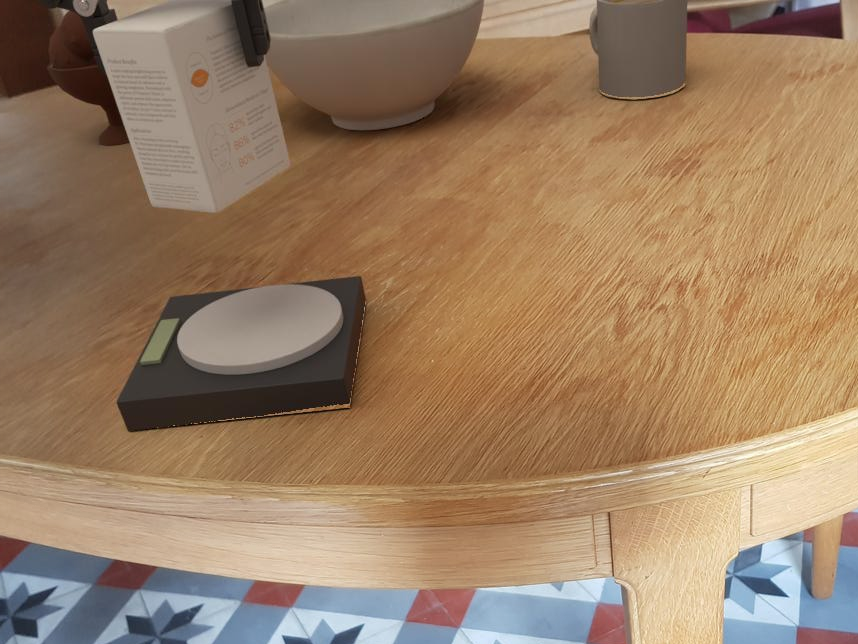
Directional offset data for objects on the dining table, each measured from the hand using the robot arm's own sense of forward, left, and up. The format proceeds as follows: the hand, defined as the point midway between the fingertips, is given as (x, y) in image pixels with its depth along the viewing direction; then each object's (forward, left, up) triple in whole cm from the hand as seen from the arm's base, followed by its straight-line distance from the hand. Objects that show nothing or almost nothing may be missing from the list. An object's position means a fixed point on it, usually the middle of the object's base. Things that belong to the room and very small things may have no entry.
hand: (189, 72), depth 57 cm
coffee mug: (+35, +57, -20) cm, 70 cm away
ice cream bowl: (-28, +60, -20) cm, 69 cm away
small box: (0, 0, -7) cm, 7 cm away
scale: (-1, 0, -20) cm, 20 cm away
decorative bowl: (+5, +57, -20) cm, 60 cm away
